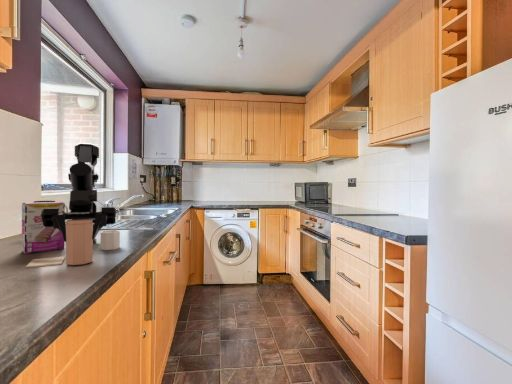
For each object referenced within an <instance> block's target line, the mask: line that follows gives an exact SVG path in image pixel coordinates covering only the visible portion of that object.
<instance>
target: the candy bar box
mask: <svg viewBox="0 0 512 384" xmlns="http://www.w3.org/2000/svg"><path fill="white" fill-rule="evenodd" d="M65 205H66V203H65V202H62V201H55V202H36V203H33V202H22V203H21V252H22V253H23V254H24V255H28V254H34V253H35V254H36V253H42V252H50V251H55V250H63V249H65V241H64V239H63V236H62V234H61V232H60V231H59V229H55V228H54V227H45V226H43V221H42V217H41V213H42V210H43V209H45V208H59V211H63V212H66V211H65V210H66V207H65Z"/></svg>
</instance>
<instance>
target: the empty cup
mask: <svg viewBox="0 0 512 384" xmlns="http://www.w3.org/2000/svg"><path fill="white" fill-rule="evenodd" d="M120 234H121V233H120V230H118V229H107V230H106V229H105V230H102V231H101V230H100V250H101V251H102V250H103V251H111V250H117V249H120V247H121V246H120V242H121V241H120V237H121V235H120Z"/></svg>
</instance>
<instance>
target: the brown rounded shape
mask: <svg viewBox="0 0 512 384" xmlns="http://www.w3.org/2000/svg"><path fill="white" fill-rule="evenodd" d="M65 224H66V242H65V264H66V265H70V266H78V265H86V264H88V263H92V262H93V261H94V243H93V239H92V235H93V224H94V223H93V220H92V219H69V220H65Z"/></svg>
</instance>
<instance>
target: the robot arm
mask: <svg viewBox="0 0 512 384" xmlns="http://www.w3.org/2000/svg"><path fill="white" fill-rule="evenodd" d="M74 156H75V158H76V160H77V163H74V164H72V165H71V166H70V167H69V173H68V175H67V176H68V181H69V183H70V184H71V186H72V189H71V191H70V193H69V203H68V212H66V211H65V212H63V211H59V208H45V209H43V210H42V213H41V217H42V221H43V226H45V227H54V228H55V229H59V231H60V232H61V234H62V236H63V239H64V243H66V221H67V220H72V219H92V220H93V235H92V239H93V244H94V243H95V244H96V243H97V238H96V237H97V235H98V234H99V232H101V230H102V229H103V227H106V226H107V225H114V224H116V217H117V215H116V214H117V212H116V207H114V206H102V207H101V211H99V210H98V209H97V204H96V202H98V189H94V187H93V186H95V183H96V184H97V182H98V180H99V175H98V173H97V172H95V167H96V166H97V164H98V159H99V158H100V147H98V146H96V145H94V143H93V144H92V143H88V142H80V143H78V145H74Z"/></svg>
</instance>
